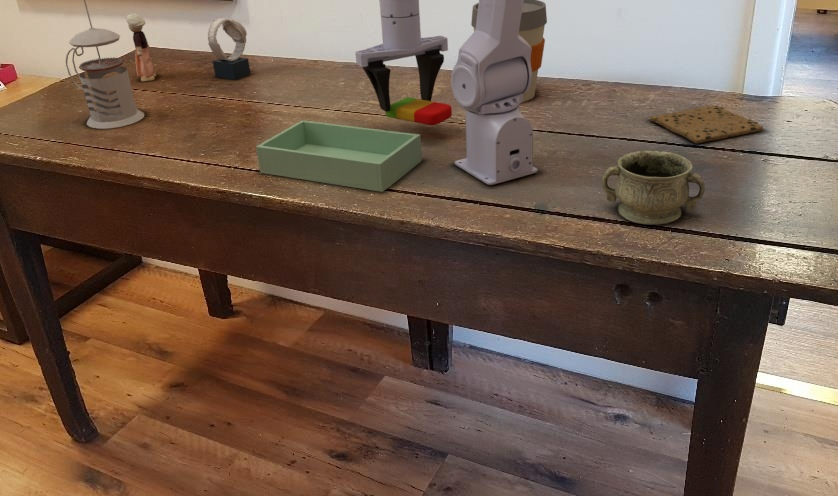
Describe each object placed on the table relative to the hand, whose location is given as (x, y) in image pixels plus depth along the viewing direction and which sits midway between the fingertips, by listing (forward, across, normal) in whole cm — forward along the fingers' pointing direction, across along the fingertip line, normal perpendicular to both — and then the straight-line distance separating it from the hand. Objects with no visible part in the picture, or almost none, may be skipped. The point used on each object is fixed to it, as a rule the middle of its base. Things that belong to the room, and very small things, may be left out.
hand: (406, 105), depth 124 cm
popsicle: (+2, 0, 0) cm, 2 cm away
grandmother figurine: (+4, +28, -60) cm, 66 cm away
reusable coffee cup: (+5, -23, -6) cm, 24 cm away
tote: (+4, +14, +7) cm, 17 cm away
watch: (+4, +13, -51) cm, 53 cm away
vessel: (+5, -11, +43) cm, 45 cm away
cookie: (+5, -38, +25) cm, 46 cm away
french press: (+4, +39, -38) cm, 55 cm away
